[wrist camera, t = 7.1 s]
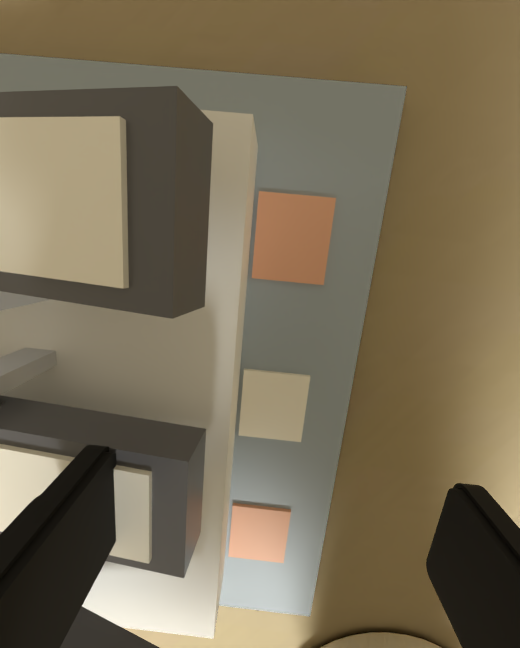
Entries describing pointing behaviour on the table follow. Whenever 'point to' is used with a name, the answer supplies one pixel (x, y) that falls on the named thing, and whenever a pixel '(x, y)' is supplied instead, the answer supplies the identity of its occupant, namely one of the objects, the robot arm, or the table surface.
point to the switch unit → (233, 331)
